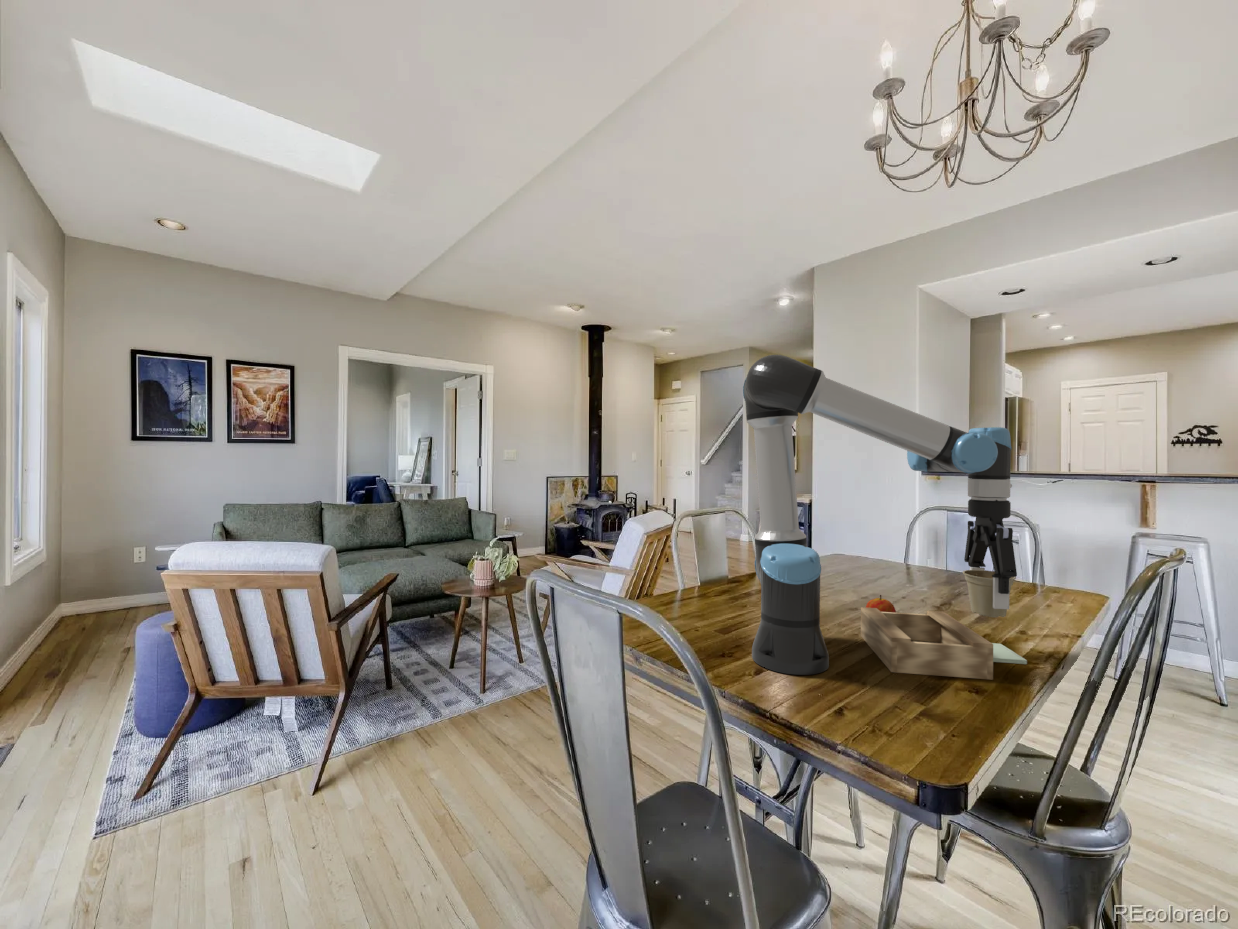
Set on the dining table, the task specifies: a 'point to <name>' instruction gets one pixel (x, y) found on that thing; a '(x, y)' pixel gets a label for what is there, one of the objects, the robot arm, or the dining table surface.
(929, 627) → the crate
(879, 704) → the dining table surface
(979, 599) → the flower pot
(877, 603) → the fruit
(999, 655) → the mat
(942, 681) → the dining table surface
